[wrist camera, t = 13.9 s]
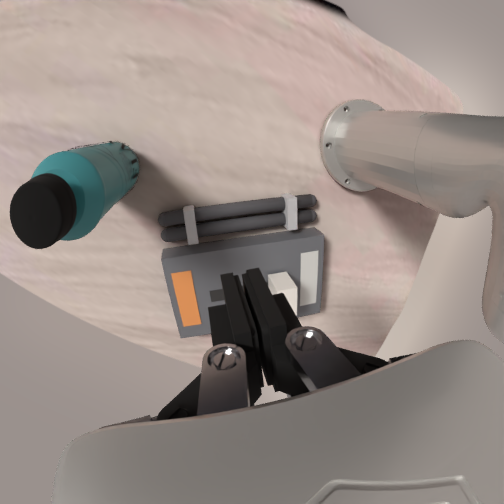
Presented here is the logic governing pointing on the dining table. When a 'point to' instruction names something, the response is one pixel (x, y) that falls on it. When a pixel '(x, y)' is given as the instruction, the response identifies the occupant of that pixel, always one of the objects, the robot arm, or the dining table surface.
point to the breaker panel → (241, 272)
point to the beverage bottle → (72, 193)
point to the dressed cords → (193, 230)
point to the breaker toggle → (284, 287)
